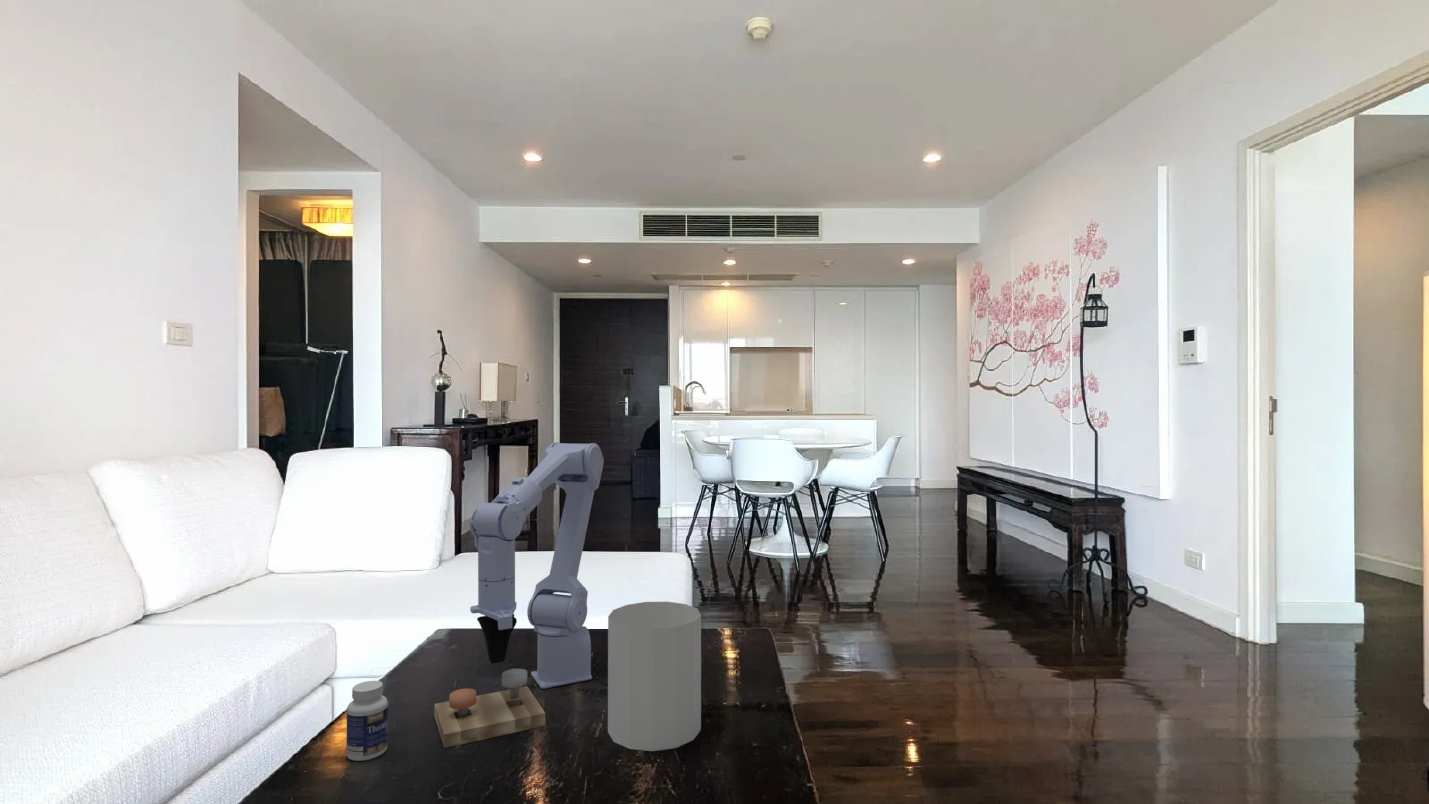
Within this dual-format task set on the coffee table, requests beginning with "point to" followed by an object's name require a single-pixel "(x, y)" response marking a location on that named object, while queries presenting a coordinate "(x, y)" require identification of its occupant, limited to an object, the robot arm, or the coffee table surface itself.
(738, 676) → the coffee table surface
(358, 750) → the pill bottle
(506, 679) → the grey plunger
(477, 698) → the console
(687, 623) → the container
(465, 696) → the rust plunger
